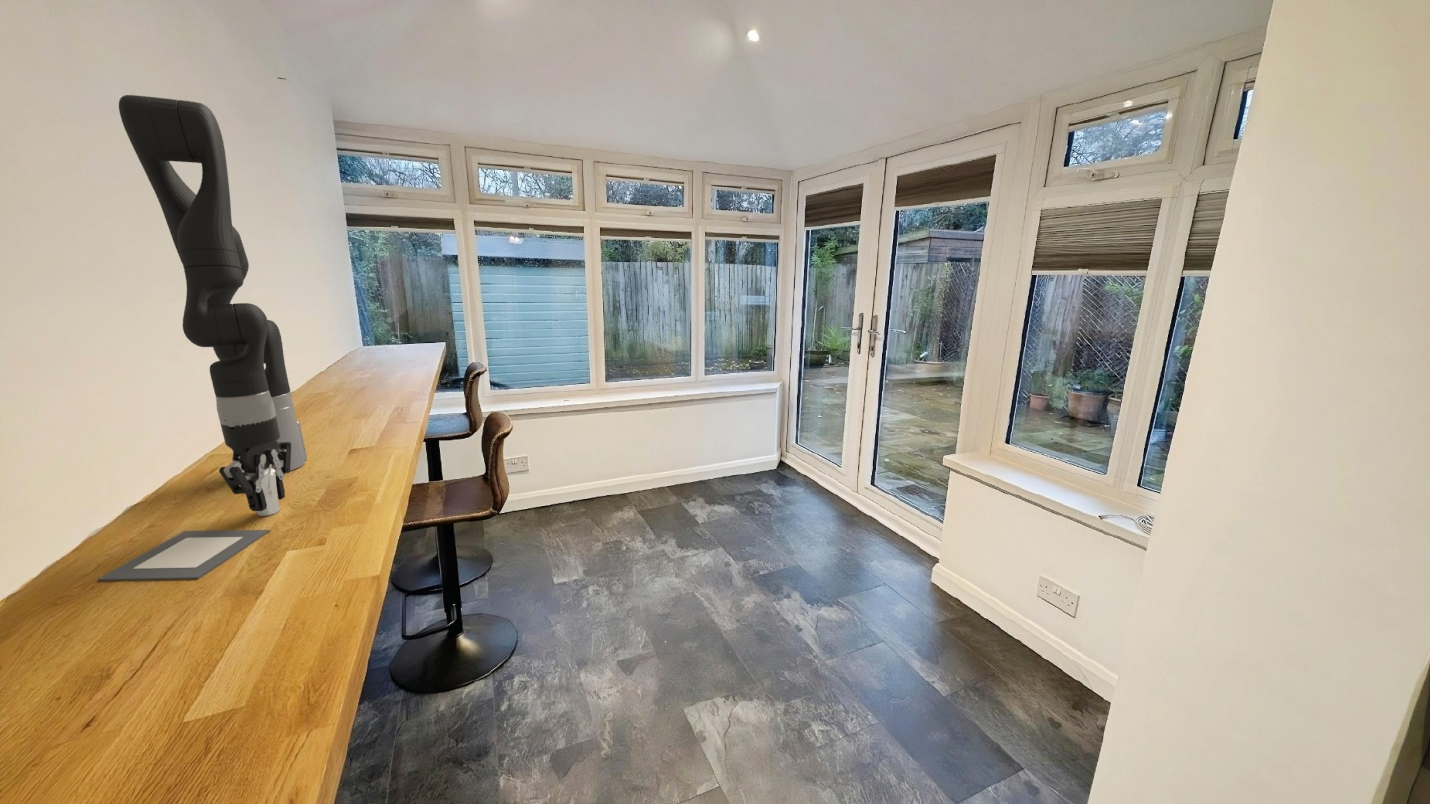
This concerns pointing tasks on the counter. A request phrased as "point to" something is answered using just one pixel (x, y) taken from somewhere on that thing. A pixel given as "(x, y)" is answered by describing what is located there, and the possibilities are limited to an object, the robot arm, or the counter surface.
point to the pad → (186, 555)
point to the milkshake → (268, 491)
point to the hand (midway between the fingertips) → (268, 504)
